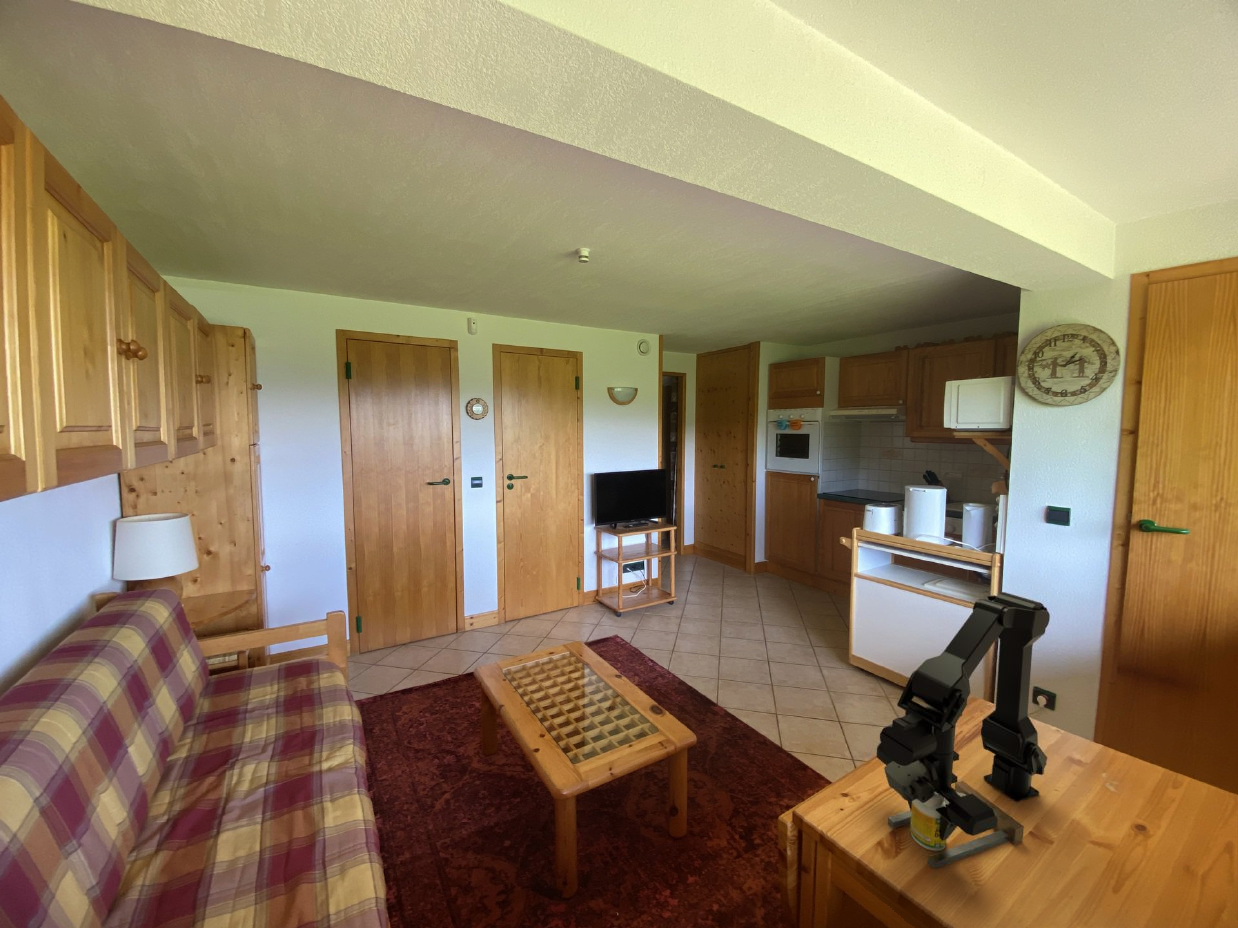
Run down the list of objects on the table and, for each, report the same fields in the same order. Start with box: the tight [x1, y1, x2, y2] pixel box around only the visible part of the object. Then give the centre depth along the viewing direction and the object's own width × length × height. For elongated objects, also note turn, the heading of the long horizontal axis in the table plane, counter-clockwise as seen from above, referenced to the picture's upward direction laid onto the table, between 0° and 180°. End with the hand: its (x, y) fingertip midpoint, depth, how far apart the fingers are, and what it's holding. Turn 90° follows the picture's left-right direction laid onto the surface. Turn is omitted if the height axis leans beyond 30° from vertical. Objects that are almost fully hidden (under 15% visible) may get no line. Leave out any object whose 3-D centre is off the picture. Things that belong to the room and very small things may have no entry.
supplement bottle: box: [909, 794, 947, 852], centre depth 85 cm, size 5×5×10 cm
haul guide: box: [887, 780, 1025, 870], centre depth 87 cm, size 19×11×3 cm, turn 107°
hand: (928, 825), depth 86 cm, fingers closed on supplement bottle, 5 cm apart
